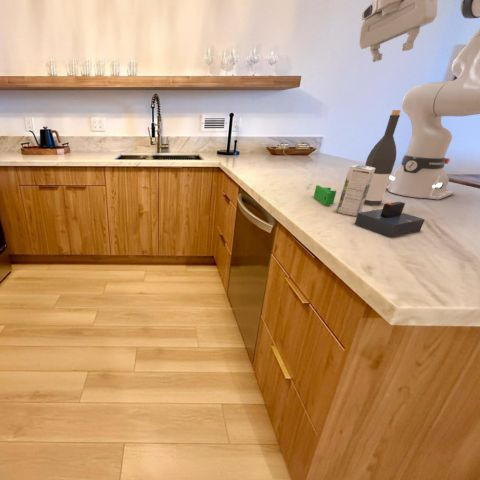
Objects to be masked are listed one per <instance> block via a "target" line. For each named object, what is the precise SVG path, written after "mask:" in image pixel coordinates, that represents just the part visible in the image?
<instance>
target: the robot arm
mask: <svg viewBox="0 0 480 480" xmlns="http://www.w3.org/2000/svg"><path fill="white" fill-rule="evenodd" d="M460 13H461V15H462V17H463V18H464V19H471V20H472V19H479V18H480V0H461V3H460ZM437 14H438V0H373V1H372V2H371V3H370V4H369V5H368V7H367V8H365V9H364V11H363V12H362V13H361V21H363V22H362V23H361V26H360V31H359V44H358V45H359V48H360V49H361V50H369V51H370V53H371V55H372V63H376V62H380V61H382V60H383V53H380V50H379V49H381V45H382V44H384V43H388V42H389V41H392V40H394V39H396V38H398V37H401V36H403V35H405V34H407V35H408V37H407V39H406V41H405V43H403V44H402V49H401V50H402V52H407V51H410V50H412V49H413V48H414V43H415V40H416V39H417V37H418V36H419V34H420V29H421V28H422V27H424V26H427V25H430V24H431V23H433V22H434V21H435V19H436V17H437ZM451 72H452V74H453V75H454V76H455V77H456V78H455V79H453V80H448V81H447V80H445V81H435V82H434V81H432V82H426V83H422V84H419V85H415V86H412V87H411V88H410V89H409V90H408V91H406V93H405V95H404V96H403V98H402V101H401V108H402V111H403V112H404V114H406V115H407V117H408V119H409V121H410V125H411V136H410V140H409V143H408V147H407V150H406V153H405V154H404V155H403V157H402V159H401V162H400V164H401V165H400V167H398V168H396V169H395V171H394V173H393V176H392V175H390V178H389V180H391V181H390V182H389V185H388V184H387V187H386V190H387V191H388V192H390V193H392V194H396V195H400V196H403V197H409V198H418V199H430V200H441V199H444V198H447V197H449V196H452V195H453V191H451V190H448V189H447V187H448V184H449V182H450V178H449V177H448V175H447V174H446V172H445V170H444V168H445V165H448V164H449V163H450V158H449V157H448V158H446V154H447V152H448V149H449V147H450V144H451V142H452V140H453V135H452V133H451V131H450V130H448V129H447V128H446V127H444V126H443V123H442V118H443V117H461V118H462V117H469V116H476V115H480V28H479V29H478V30H477V31H476V32H475V34H473V35H472V37H471V38H470V39H469V40H468V42H467V43H466V44H465V45H464V47H463V48H462V49H461V51H460V52H459V53H458V54H457V56H456V57H455V58H454V60H453V61H452V64H451Z"/></svg>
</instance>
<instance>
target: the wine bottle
mask: <svg viewBox="0 0 480 480" xmlns="http://www.w3.org/2000/svg"><path fill="white" fill-rule="evenodd" d="M400 114H401V109H393V110H392V111H391V114H389V119H388V122H387V125H386V128H385V132H384V135H383V136H382V137H381V138H380V139H379V140H378V142H377V143H376V144H375V145H374V146H373V148H372V149H371V151H370V152H369V154H368V155H367V157H366V161H365V164H364V166H369V167H374V168H376V169H375V171H374V174H373V177H372V181H371V184H370V187H369V190H368V193H367V196H366V199H365V202H364V205H367V206H368V205H369V206H380V205H381V203H382V201H383V200H384V199H383V198H384V196H385V193H386V190H387V189H386V187H387V185H388V183H389V181H390V176H392V172H393V170H394V166H395V163H396V161H397V144H396V141H395V138H394V134H395V131H396V128H397V125H398V122H399V118H400V117H401V115H400Z"/></svg>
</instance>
